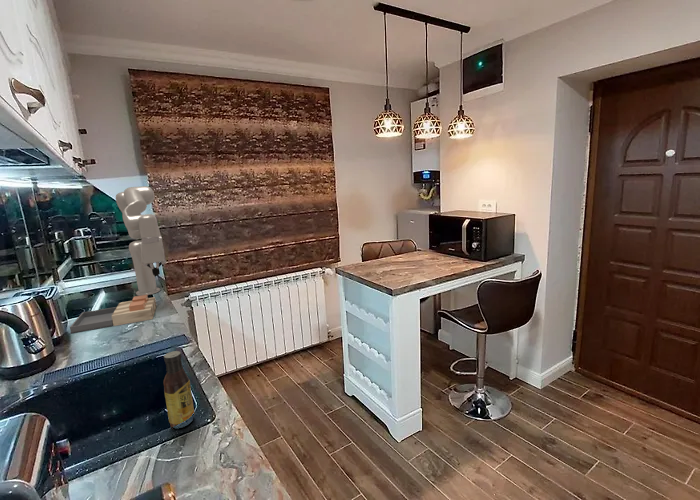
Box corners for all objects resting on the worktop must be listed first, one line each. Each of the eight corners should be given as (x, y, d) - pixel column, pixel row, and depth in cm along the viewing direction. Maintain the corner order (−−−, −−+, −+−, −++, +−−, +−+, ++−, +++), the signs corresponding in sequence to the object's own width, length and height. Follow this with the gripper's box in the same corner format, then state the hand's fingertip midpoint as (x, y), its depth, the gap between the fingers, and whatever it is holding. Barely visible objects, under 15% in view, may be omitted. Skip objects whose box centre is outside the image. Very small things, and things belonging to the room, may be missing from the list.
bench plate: (121, 311, 185) (119, 302, 184) (156, 306, 191) (154, 297, 190) (113, 326, 167) (111, 315, 166) (152, 319, 173) (150, 309, 172)
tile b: (131, 307, 176) (130, 302, 175) (145, 305, 178) (144, 300, 178) (129, 311, 170) (128, 306, 170) (144, 309, 173) (143, 304, 172)
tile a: (134, 301, 185) (134, 296, 184) (148, 299, 187) (147, 294, 187) (133, 304, 180) (132, 300, 179) (146, 302, 182) (145, 298, 181)
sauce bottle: (189, 430, 94) (177, 360, 90) (165, 431, 94) (152, 361, 90) (199, 414, 100) (189, 348, 96) (177, 415, 101) (166, 349, 97)
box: (83, 318, 179) (82, 312, 179) (120, 312, 185) (119, 306, 184) (71, 333, 161) (69, 327, 160) (112, 326, 167) (111, 320, 166)
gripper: (167, 237, 186) (173, 272, 190) (134, 241, 181) (141, 276, 184) (166, 239, 180) (172, 275, 183) (132, 243, 174) (138, 280, 178)
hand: (156, 275), depth 184 cm, fingers closed
